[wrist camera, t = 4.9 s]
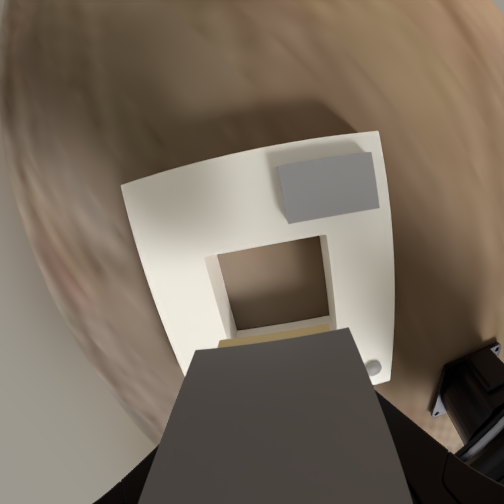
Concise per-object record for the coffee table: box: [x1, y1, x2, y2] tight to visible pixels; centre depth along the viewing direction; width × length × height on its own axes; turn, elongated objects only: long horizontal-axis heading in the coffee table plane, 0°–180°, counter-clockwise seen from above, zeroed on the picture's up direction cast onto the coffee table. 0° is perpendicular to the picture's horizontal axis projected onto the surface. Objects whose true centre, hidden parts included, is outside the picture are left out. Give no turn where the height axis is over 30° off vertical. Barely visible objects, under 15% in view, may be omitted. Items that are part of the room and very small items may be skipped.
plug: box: [138, 324, 413, 504], centre depth 5 cm, size 4×4×7 cm
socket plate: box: [121, 131, 395, 385], centre depth 14 cm, size 14×12×3 cm
